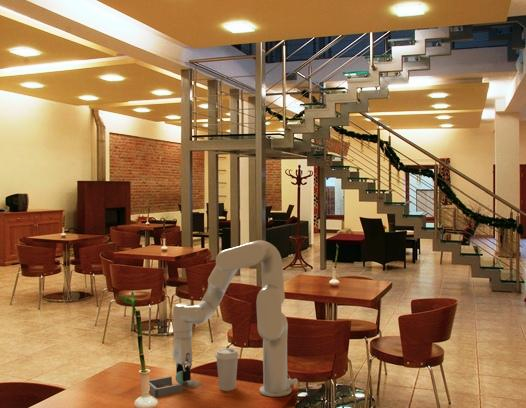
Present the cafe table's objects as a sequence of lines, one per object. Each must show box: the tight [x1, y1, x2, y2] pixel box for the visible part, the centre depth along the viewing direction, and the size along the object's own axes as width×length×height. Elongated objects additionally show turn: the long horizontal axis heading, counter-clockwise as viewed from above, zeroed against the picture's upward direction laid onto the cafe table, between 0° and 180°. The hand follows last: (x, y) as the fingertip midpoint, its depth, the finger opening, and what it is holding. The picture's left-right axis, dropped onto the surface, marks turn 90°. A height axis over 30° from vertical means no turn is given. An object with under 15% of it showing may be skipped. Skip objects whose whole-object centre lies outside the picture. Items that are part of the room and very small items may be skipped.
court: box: [148, 375, 183, 398], centre depth 217 cm, size 11×12×3 cm
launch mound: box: [182, 378, 203, 390], centre depth 223 cm, size 14×14×14 cm
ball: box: [175, 371, 186, 384], centre depth 221 cm, size 5×5×5 cm
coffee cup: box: [214, 347, 240, 392], centre depth 218 cm, size 10×10×15 cm
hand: (183, 377), depth 221 cm, fingers open, 6 cm apart
